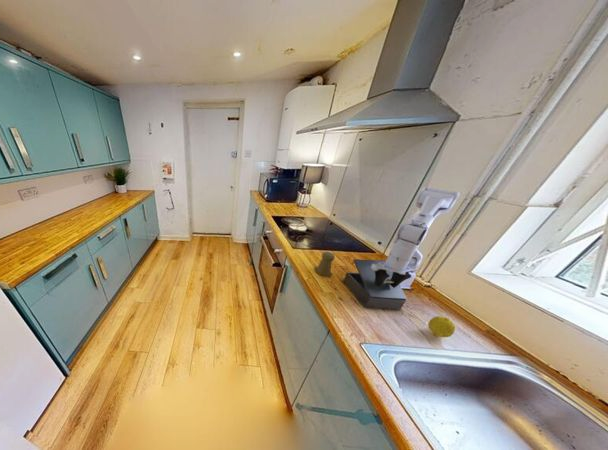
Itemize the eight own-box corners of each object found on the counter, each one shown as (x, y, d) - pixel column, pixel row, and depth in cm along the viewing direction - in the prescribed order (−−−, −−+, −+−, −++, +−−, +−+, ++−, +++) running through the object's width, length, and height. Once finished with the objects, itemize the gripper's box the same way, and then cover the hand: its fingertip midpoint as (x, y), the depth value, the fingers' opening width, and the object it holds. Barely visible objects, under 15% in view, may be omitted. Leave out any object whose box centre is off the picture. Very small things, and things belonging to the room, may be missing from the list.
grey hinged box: (343, 281, 92) (346, 272, 89) (372, 283, 91) (377, 274, 89) (365, 307, 78) (370, 297, 75) (400, 310, 77) (406, 299, 75)
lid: (353, 259, 86) (358, 255, 82) (384, 261, 85) (391, 256, 82) (369, 297, 76) (376, 293, 72) (406, 299, 75) (414, 295, 72)
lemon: (450, 345, 64) (463, 328, 61) (426, 337, 67) (438, 320, 63) (443, 332, 68) (455, 316, 65) (421, 325, 71) (432, 308, 68)
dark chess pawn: (331, 276, 94) (338, 257, 90) (318, 275, 95) (324, 255, 91) (327, 269, 100) (333, 250, 95) (314, 267, 101) (320, 249, 96)
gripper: (387, 261, 68) (372, 291, 74) (431, 264, 67) (413, 294, 73) (373, 250, 74) (360, 278, 80) (413, 252, 74) (397, 281, 79)
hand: (384, 285), depth 77 cm, fingers closed on lid, 5 cm apart
